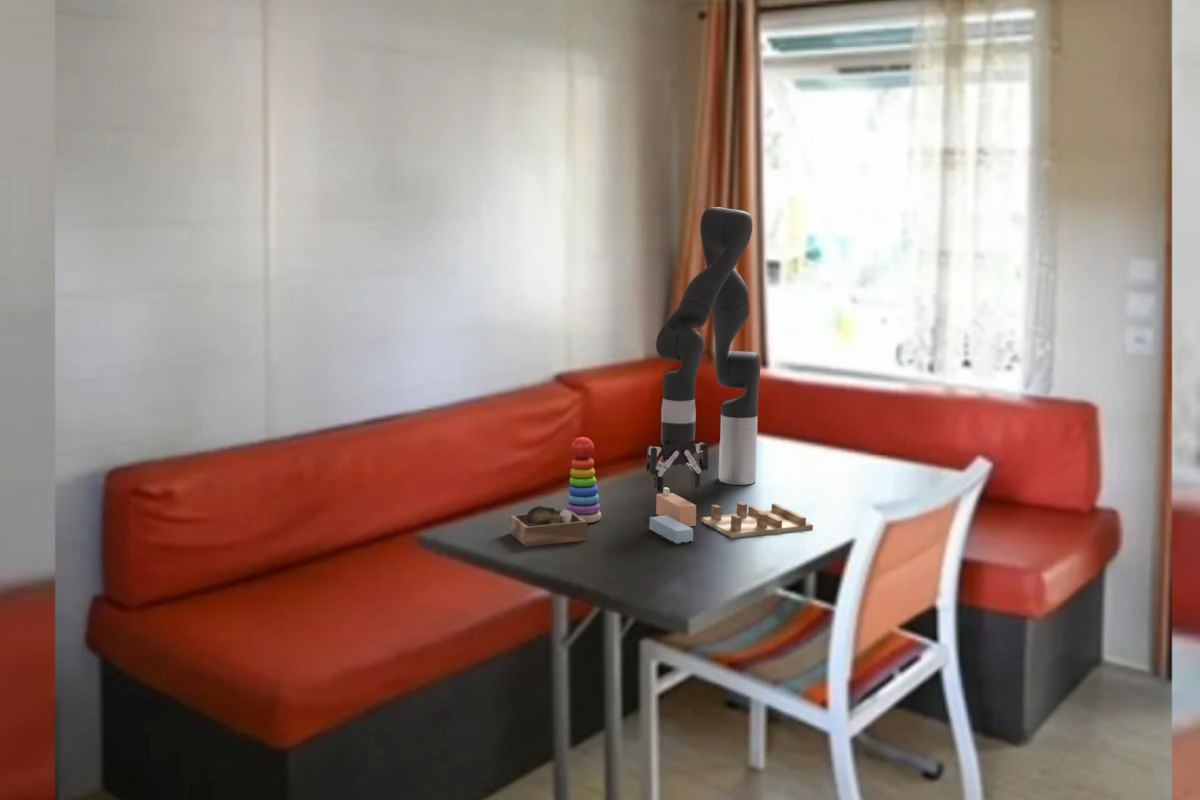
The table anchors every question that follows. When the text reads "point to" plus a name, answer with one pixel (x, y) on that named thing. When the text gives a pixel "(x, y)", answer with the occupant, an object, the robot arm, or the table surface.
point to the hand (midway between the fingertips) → (676, 490)
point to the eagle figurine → (548, 516)
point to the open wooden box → (547, 530)
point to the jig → (756, 521)
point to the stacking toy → (583, 482)
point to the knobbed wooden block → (676, 508)
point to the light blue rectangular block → (671, 529)
